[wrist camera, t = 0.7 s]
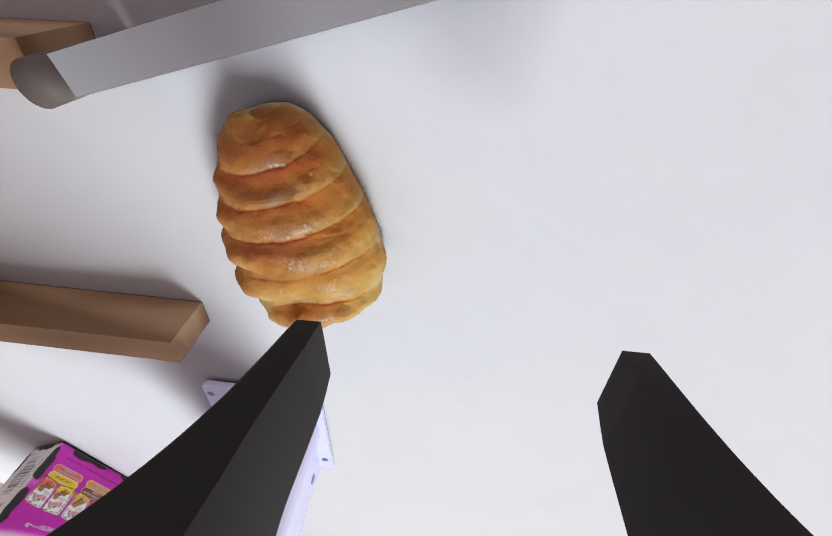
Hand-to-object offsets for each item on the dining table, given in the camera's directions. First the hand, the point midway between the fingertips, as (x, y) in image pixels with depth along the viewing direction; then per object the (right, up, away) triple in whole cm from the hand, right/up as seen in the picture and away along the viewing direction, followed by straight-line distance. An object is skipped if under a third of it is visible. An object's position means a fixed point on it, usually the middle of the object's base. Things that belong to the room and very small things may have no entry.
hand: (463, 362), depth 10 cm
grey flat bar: (-5, +11, +3) cm, 12 cm away
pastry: (-6, +5, +9) cm, 12 cm away
